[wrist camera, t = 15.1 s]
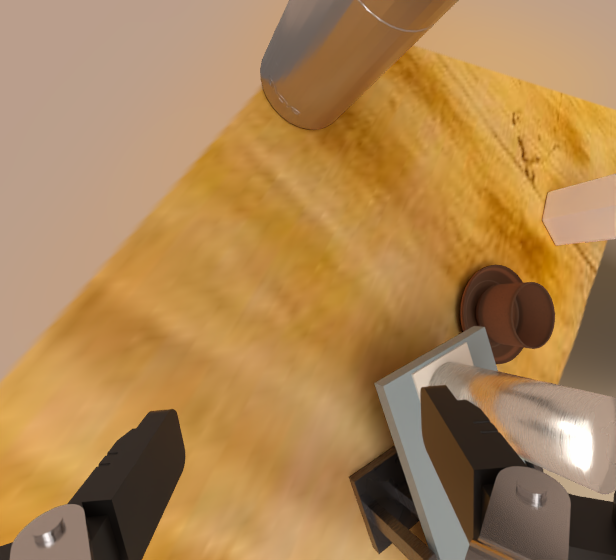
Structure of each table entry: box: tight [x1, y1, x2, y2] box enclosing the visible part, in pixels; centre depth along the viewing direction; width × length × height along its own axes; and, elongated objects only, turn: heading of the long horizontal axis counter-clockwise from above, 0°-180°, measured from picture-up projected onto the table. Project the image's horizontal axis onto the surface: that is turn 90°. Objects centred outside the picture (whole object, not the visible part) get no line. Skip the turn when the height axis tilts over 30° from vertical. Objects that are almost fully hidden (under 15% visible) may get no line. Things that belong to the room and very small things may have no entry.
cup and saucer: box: [460, 265, 555, 364], centre depth 42 cm, size 12×12×6 cm
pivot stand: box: [349, 446, 544, 560], centre depth 34 cm, size 8×16×9 cm, turn 111°
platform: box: [374, 326, 525, 560], centre depth 32 cm, size 25×12×7 cm, turn 21°
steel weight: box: [429, 362, 616, 494], centre depth 24 cm, size 5×5×11 cm
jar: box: [542, 174, 616, 246], centre depth 46 cm, size 9×8×12 cm
